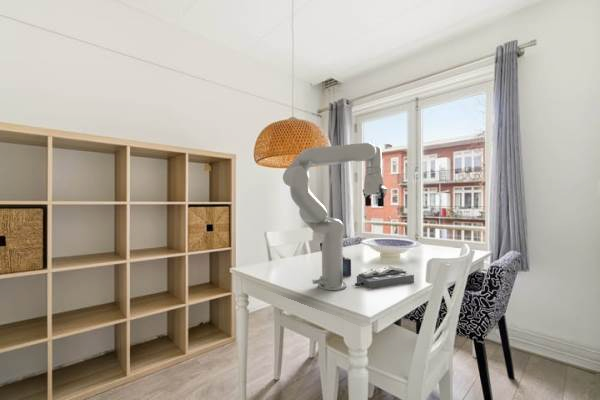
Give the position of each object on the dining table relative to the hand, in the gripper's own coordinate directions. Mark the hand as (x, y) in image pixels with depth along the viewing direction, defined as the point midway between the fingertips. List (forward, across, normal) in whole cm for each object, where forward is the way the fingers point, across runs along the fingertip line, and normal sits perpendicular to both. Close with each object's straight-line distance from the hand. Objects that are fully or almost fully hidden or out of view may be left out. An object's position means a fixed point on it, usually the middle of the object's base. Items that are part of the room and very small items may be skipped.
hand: (374, 206), depth 136 cm
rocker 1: (+32, +4, -6) cm, 32 cm away
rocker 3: (+32, +4, +10) cm, 33 cm away
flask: (+37, -14, -10) cm, 41 cm away
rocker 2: (+32, +4, +2) cm, 32 cm away
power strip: (+37, +6, 0) cm, 37 cm away
